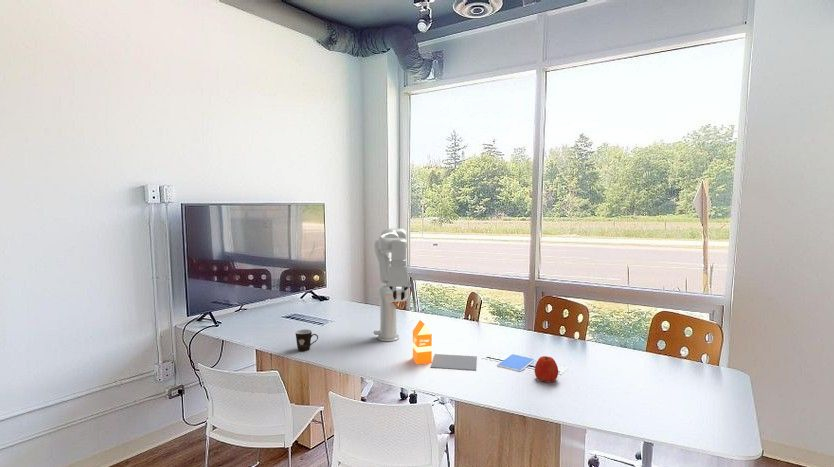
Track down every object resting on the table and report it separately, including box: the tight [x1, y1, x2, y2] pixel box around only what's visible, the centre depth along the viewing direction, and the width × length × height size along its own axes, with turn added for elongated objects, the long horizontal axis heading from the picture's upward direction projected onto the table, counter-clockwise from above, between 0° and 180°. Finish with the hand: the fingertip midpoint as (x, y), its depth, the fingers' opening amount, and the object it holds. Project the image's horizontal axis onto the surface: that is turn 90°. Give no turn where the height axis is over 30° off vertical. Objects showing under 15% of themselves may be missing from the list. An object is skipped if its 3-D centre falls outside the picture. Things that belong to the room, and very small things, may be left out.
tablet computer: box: [496, 354, 535, 373], centre depth 205 cm, size 19×13×1 cm, turn 144°
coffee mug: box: [295, 328, 319, 353], centre depth 223 cm, size 12×9×10 cm
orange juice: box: [412, 319, 433, 365], centre depth 208 cm, size 8×9×20 cm
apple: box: [534, 355, 559, 383], centre depth 185 cm, size 10×10×10 cm
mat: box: [430, 353, 478, 372], centre depth 205 cm, size 22×18×1 cm
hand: (398, 299), depth 208 cm, fingers open, 3 cm apart
